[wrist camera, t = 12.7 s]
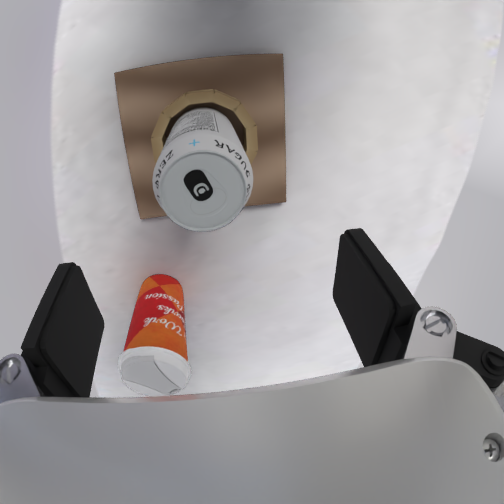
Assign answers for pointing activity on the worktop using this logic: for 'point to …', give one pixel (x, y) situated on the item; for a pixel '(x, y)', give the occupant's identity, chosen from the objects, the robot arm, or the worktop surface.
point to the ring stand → (212, 96)
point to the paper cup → (156, 340)
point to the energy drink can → (202, 172)
